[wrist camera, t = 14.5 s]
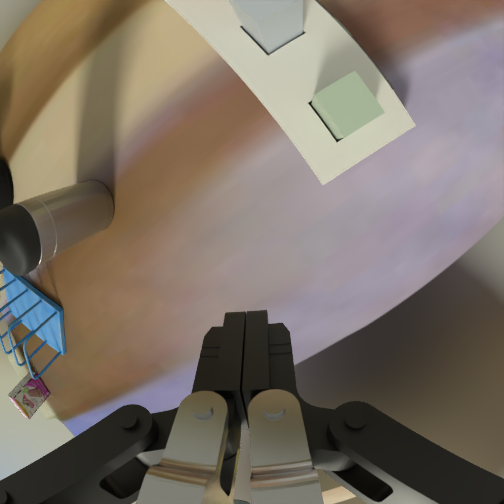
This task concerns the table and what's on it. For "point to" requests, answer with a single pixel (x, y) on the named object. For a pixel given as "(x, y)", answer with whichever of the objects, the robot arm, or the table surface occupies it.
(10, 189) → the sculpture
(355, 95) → the key sage
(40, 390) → the candy bar box
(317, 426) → the robot arm
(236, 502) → the teal tapered cup
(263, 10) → the key grey
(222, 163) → the table surface
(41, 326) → the file sorter
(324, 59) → the white flat bar
